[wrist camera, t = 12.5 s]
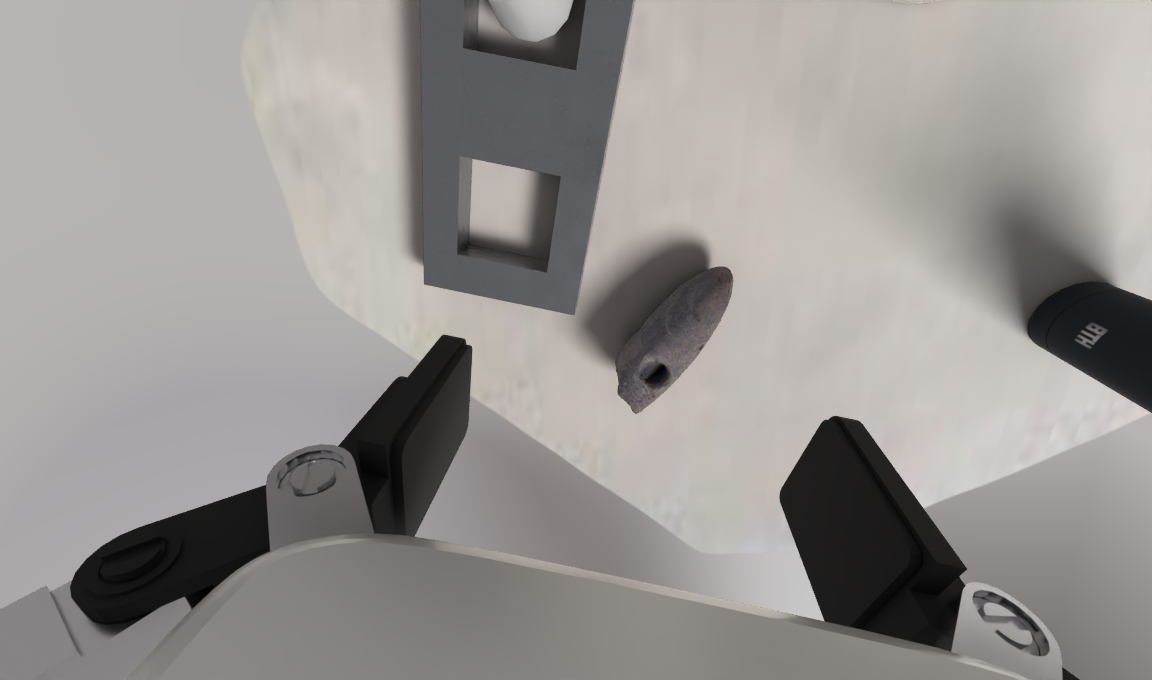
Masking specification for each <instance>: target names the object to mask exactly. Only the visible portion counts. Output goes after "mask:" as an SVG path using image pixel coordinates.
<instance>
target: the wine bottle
mask: <svg viewBox="0 0 1152 680" xmlns="http://www.w3.org/2000/svg"><path fill="white" fill-rule="evenodd" d="M1028 331H1029V336H1030V338H1031V339H1032V340H1033V341H1034V343H1035V344H1037V345H1038V346H1040V347H1042V348H1043V349H1045V350H1047V351H1048V352H1050V353H1052V354H1053V355H1055V356H1057V357H1058V358H1060V359H1062V360H1063V361H1065V362H1067V363H1069V364H1070V365H1072V366H1074V367H1075V368H1077V369H1079V370H1080V371H1082V372H1084V373H1085V374H1087V375H1089V376H1090V377H1092V378H1094V379H1095V380H1097V381H1099V382H1101V383H1102V384H1104V385H1106V386H1107V387H1109V388H1111V389H1112V390H1114V391H1116V392H1117V393H1119V394H1121V395H1122V396H1124V397H1126V398H1127V399H1129V400H1131V401H1133V402H1134V403H1136V404H1138V405H1139V406H1141V407H1143V408H1144V409H1146V410H1148V411H1149V412H1151V413H1152V301H1151V300H1149V299H1146V298H1143V297H1141V296H1138V295H1136V294H1133V293H1130V292H1127V291H1125V290H1122V289H1120V288H1117V287H1114V286H1112V285H1109V284H1106V283H1099V282H1087V283H1081V284H1076V285H1073V286H1070V287H1068V288H1065V289H1063V290H1060V291H1059V292H1057V293H1056V294H1054V295H1052V296H1051V297H1049V298H1047V299H1046V300H1045V301H1044V302H1043V303H1042V304H1041V305H1040V306H1039V307H1038V308H1037V309H1036V311H1035V312H1034V314H1033V315H1032V317H1031V318H1030V322H1029V326H1028Z"/></svg>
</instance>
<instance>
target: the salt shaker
mask: <svg viewBox="0 0 1152 680" xmlns="http://www.w3.org/2000/svg"><path fill="white" fill-rule="evenodd" d="M488 1H489V3H490V5H491V7H492V9H493V11H494V13H495V15H496V17H497V19H498V21H499V23H500V25H501V26H502V27H503V28H504V29H506V30H507V31H508V32H510V33H511V34H512V35H513V36H515V37H516V38H517V39H522V40H527V41H533V42H538V41H541V40H543V39H546V38H548V37H550V36H553V35H555V34H556V32H557V31H558V30H559V29H560V28H561V27H562V25H563V24H564V23H565V22H566V21H567V19H568V17H569V13H570V10H571V7H572V3H573V0H488Z"/></svg>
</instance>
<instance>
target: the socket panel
mask: <svg viewBox="0 0 1152 680" xmlns="http://www.w3.org/2000/svg"><path fill="white" fill-rule="evenodd" d="M634 3H635V0H586V4H585V11H584V18H583V25H582V32H581V39H580V46H579V53H578V60H577V67H576V70H572V69H567V68H562V67H556V66H551V65H546V64H541V63H536V62H531V61H526V60H521V59H516V58H511V57H506V56H500V55H495V54H490V53H485V52H480V51H477V32H478V9H479V0H420V28H421V102H422V175H423V248H424V284H425V285H430V286H434V287H439V288H444V289H449V290H454V291H459V292H464V293H469V294H473V295H478V296H483V297H488V298H493V299H498V300H503V301H507V302H512V303H517V304H522V305H527V306H532V307H537V308H542V309H546V310H551V311H556V312H561V313H566V314H571V315H574V314H575V310H576V307H577V303H578V298H579V293H580V288H581V283H582V277H583V272H584V267H585V261H586V256H587V251H588V246H589V240H590V235H591V230H592V225H593V219H594V214H595V209H596V203H597V198H598V193H599V188H600V182H601V177H602V172H603V167H604V161H605V156H606V151H607V145H608V140H609V135H610V130H611V124H612V119H613V114H614V108H615V103H616V98H617V93H618V87H619V82H620V77H621V72H622V66H623V61H624V56H625V50H626V45H627V40H628V35H629V29H630V24H631V19H632V13H633V8H634ZM472 159H477V160H482V161H487V162H492V163H497V164H502V165H506V166H511V167H516V168H521V169H526V170H531V171H536V172H541V173H546V174H551V175H556V176H561V179H560V186H559V193H558V200H557V207H556V213H555V220H554V227H553V234H552V241H551V248H550V255H549V261H548V260H543V259H538V258H533V257H528V256H523V255H518V254H513V253H508V252H503V251H499V250H494V249H489V248H484V247H479V246H474V245H469V224H470V200H471V176H472Z"/></svg>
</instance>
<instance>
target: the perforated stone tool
mask: <svg viewBox="0 0 1152 680" xmlns="http://www.w3.org/2000/svg"><path fill="white" fill-rule="evenodd" d="M732 286H733V276H732V273H731V271H730V269H728V268H727V267H715V268H711V269H708V270H706V271H704V272H701V273H699V274H697V275H696V276H694V277H692V278H691V279H689V280H688V281H686V282H685V283H683V284H682V285H681V286H679V287H678V288H677V289H676V290H675V291H674V292H672V293H671V294H670V295H669V296H668V297H667V298H666V299H665V300H664V301H663V302H662V303H661V304H660V305H659V306H658V307H657V308H656V309H655V311H654V312H653V313H652V314H651V315H650V316H649V317H648V318H647V319H646V320H645V322H644V323H643V324H642V327H641V329H640V330H638V331H637V332H636V333H635V334H634V335H633V336H632V337H631V338H630V339H629V340H628V342H627V343H626V344H625V345H624V347H623V348H622V350H621V351H620V352H619V354H618V355H617V359H616V362H615V363H616V367H617V368H616V372H617V375H618V381H619V385H618V395H619V396H620V397H621V398H622V399H624V401H626V402H627V404H629V406H631V409H632V411H633V412H634V413H635V414H637V413H639V412H641V411H642V410H643V409H644V408H646V407H647V406H648V405H650V404H651V403H652V402H654V401H655V400H656V399H657V398H658V397H659V396H660V395H661V394H663V393H664V392H665V391H666V390H667V389H668V388H669V387H670V386H671V385H672V384H673V383H674V382H675V381H676V380H677V379H678V378H679V377H680V375H681V374H682V373H683V372H684V371H685V370H686V369H687V368H688V366H689V365H690V364H691V363H692V362H693V361H694V359H695V358H696V357H697V356H698V354H699V353H700V351H701V350H702V349H703V347H704V346H705V344H706V343H707V342H708V341H709V339H710V337H711V335H712V334H713V332H714V330H715V329H716V327H717V326H718V324H719V322H720V321H721V318H722V316H723V314H724V312H725V310H726V308H727V306H728V303H729V300H730V297H731V293H732Z"/></svg>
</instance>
